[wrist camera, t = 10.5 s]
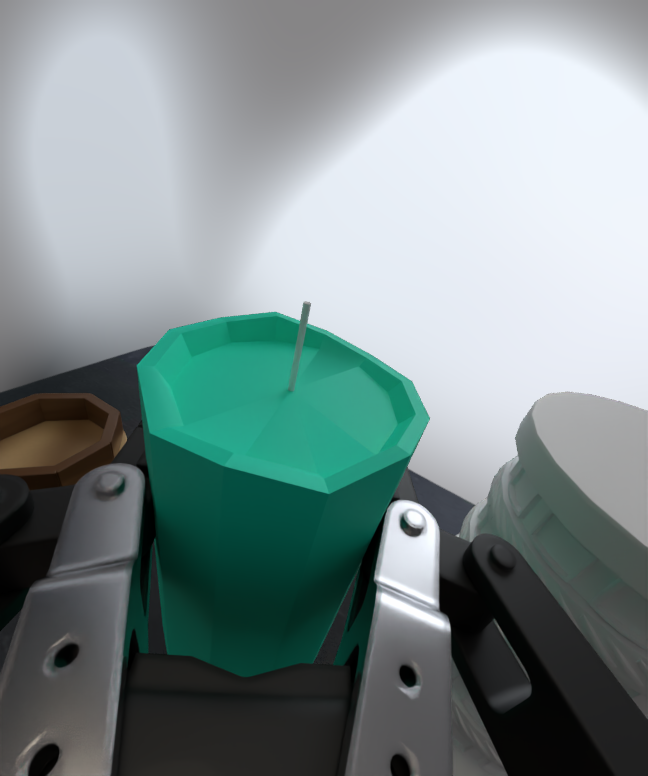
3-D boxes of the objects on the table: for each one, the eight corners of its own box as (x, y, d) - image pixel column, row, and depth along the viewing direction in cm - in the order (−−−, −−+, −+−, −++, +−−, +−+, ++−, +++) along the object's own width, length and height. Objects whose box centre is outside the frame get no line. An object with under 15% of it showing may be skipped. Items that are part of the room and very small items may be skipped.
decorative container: (354, 593, 24) (462, 384, 14) (482, 567, 27) (638, 389, 18) (441, 870, 15) (920, 830, 5) (614, 775, 18) (1079, 645, 9)
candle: (171, 544, 14) (155, 242, 8) (308, 528, 16) (383, 277, 10) (148, 745, 9) (59, 383, 3) (348, 686, 11) (543, 397, 5)
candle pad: (-68, 525, 22) (-93, 490, 20) (4, 421, 30) (-10, 389, 28) (116, 505, 25) (110, 474, 23) (136, 417, 33) (132, 389, 31)
